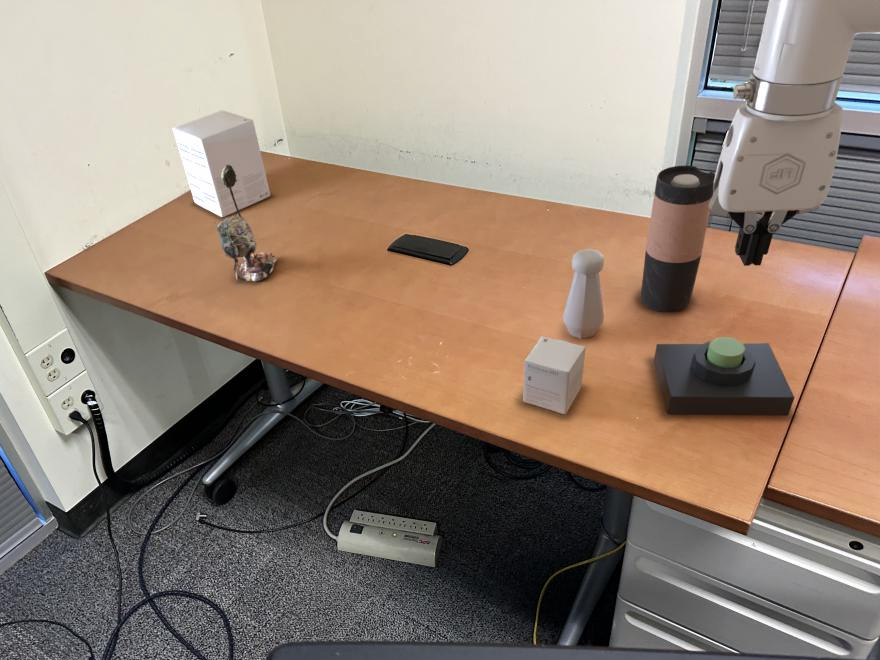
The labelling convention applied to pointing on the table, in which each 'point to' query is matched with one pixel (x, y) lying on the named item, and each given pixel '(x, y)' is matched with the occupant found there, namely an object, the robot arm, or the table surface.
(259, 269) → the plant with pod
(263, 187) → the supplement box
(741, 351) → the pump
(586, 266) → the salt shaker
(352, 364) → the table surface
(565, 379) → the product box
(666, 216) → the travel mug
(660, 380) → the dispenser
